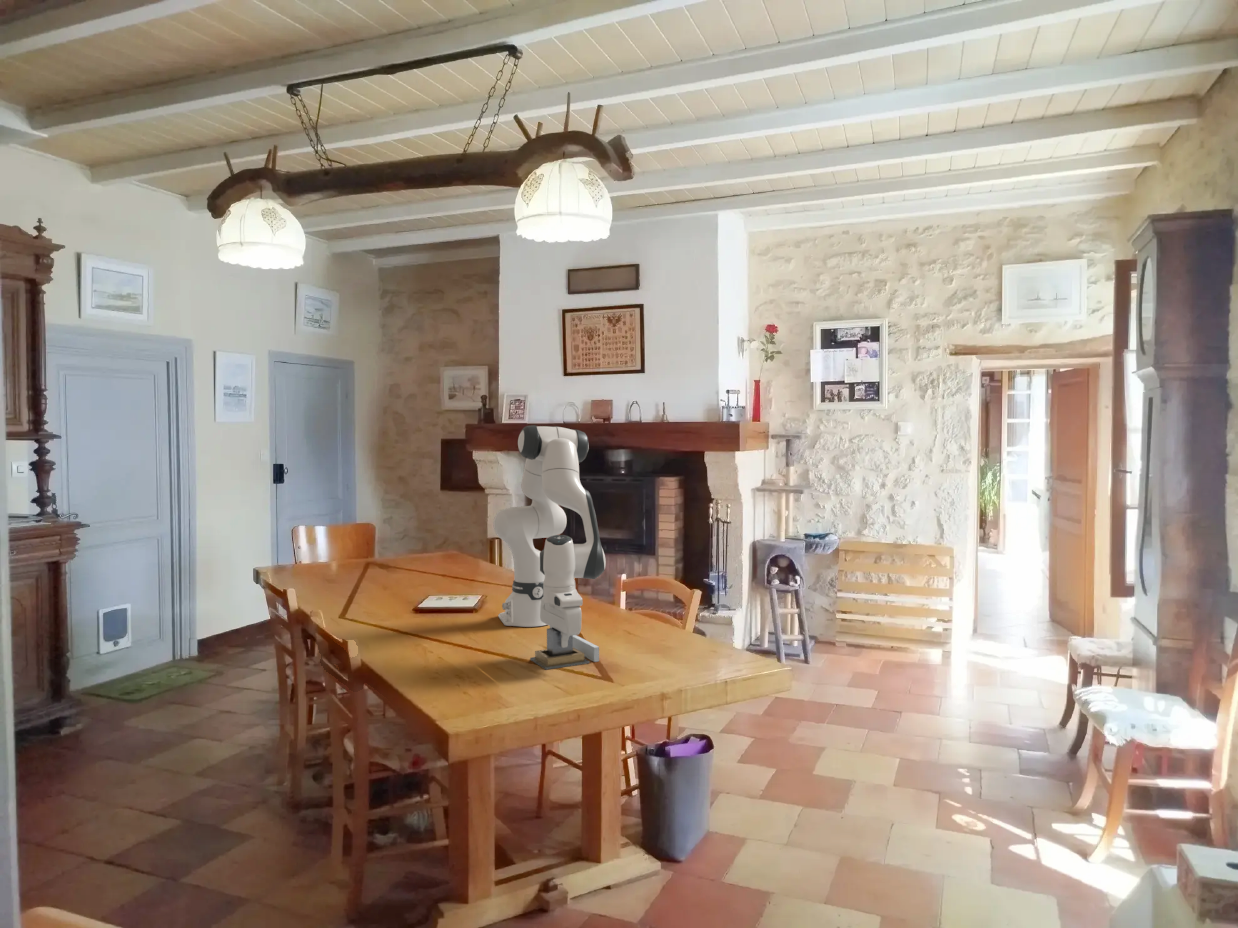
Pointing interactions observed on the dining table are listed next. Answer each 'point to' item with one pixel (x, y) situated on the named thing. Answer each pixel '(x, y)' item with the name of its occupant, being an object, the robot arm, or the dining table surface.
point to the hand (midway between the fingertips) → (559, 644)
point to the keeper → (558, 659)
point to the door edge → (586, 648)
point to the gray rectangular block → (557, 643)
